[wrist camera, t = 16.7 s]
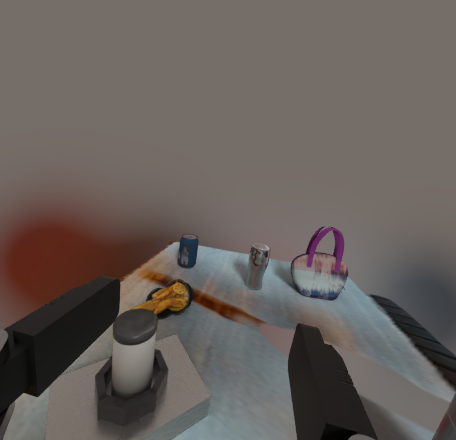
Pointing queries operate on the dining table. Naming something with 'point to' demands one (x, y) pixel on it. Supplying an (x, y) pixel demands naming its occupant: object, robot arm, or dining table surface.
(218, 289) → the dining table surface
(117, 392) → the canister
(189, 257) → the soda can
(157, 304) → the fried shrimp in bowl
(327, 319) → the dining table surface
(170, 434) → the slab with octagonal socket
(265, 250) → the beer glass
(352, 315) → the dining table surface
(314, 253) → the handbag
